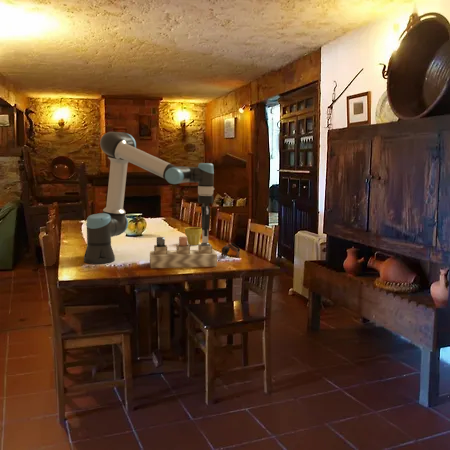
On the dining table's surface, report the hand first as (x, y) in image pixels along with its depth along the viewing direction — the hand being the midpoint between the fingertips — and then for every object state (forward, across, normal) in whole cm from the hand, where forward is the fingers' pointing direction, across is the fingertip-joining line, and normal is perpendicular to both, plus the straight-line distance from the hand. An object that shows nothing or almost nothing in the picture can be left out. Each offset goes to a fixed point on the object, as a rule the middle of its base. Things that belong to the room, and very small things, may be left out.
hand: (205, 242), depth 247 cm
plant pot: (+11, +53, -1) cm, 54 cm away
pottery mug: (+11, +17, -16) cm, 26 cm away
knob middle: (+2, 0, +11) cm, 11 cm away
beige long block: (+11, 0, +11) cm, 15 cm away
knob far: (+5, 0, 0) cm, 5 cm away
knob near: (+2, 0, +22) cm, 22 cm away
